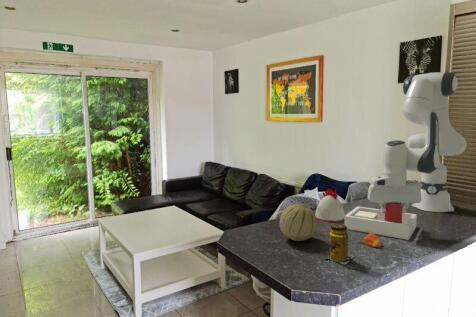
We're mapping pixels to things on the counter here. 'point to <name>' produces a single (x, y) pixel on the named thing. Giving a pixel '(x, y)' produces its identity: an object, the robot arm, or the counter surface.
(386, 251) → the counter surface
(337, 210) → the kitchen timer
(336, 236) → the condiment
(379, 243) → the rock
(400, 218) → the beer can
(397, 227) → the tray
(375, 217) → the cream rectangular box
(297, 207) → the cantaloupe
